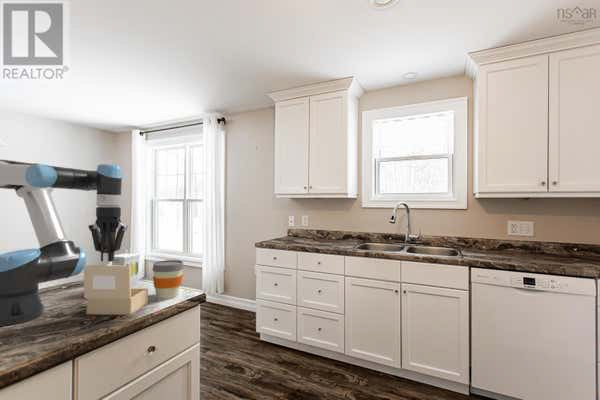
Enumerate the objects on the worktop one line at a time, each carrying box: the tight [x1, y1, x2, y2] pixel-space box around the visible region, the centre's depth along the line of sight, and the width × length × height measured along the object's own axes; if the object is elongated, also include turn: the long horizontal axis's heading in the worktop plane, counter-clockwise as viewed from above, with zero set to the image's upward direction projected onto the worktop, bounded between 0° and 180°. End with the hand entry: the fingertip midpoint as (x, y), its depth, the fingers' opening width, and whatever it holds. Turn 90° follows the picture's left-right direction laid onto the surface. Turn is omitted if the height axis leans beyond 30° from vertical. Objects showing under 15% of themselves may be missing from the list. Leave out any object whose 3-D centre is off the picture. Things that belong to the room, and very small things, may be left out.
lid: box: [83, 264, 131, 299], centre depth 100 cm, size 16×12×1 cm
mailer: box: [86, 288, 149, 316], centre depth 107 cm, size 16×12×6 cm
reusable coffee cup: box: [152, 259, 184, 301], centre depth 123 cm, size 13×13×15 cm
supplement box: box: [112, 252, 140, 289], centre depth 129 cm, size 10×9×17 cm
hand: (107, 270), depth 101 cm, fingers closed
